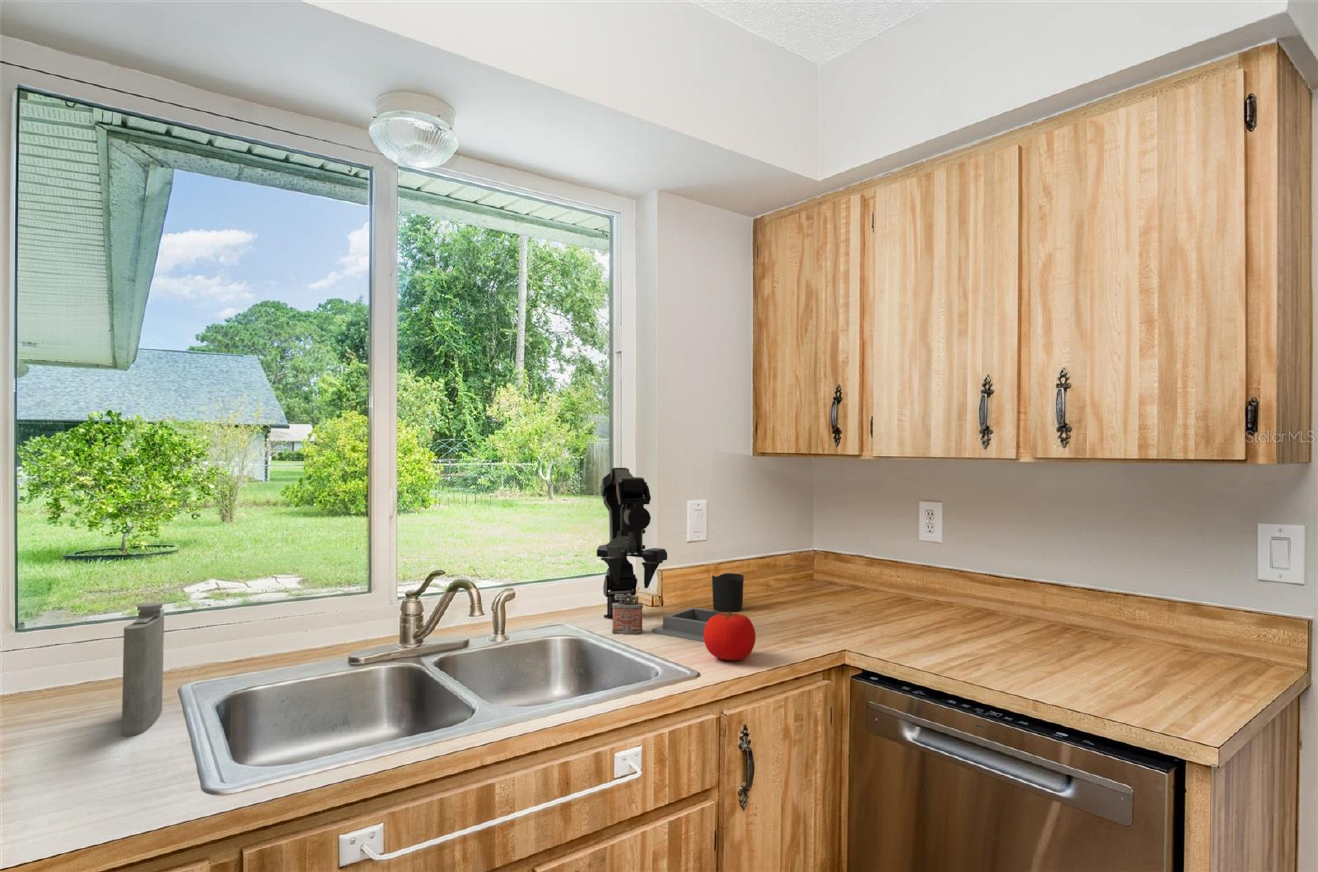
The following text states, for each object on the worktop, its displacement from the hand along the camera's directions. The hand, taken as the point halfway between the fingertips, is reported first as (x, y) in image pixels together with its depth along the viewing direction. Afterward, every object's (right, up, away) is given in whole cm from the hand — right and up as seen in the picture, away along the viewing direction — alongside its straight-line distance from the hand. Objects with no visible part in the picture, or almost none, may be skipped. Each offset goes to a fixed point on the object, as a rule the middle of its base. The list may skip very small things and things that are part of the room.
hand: (631, 586), depth 185 cm
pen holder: (+28, -13, +28) cm, 42 cm away
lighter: (-1, -12, 0) cm, 12 cm away
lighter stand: (+18, -12, +2) cm, 22 cm away
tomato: (+23, -12, -24) cm, 35 cm away
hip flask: (-82, -11, -61) cm, 103 cm away
